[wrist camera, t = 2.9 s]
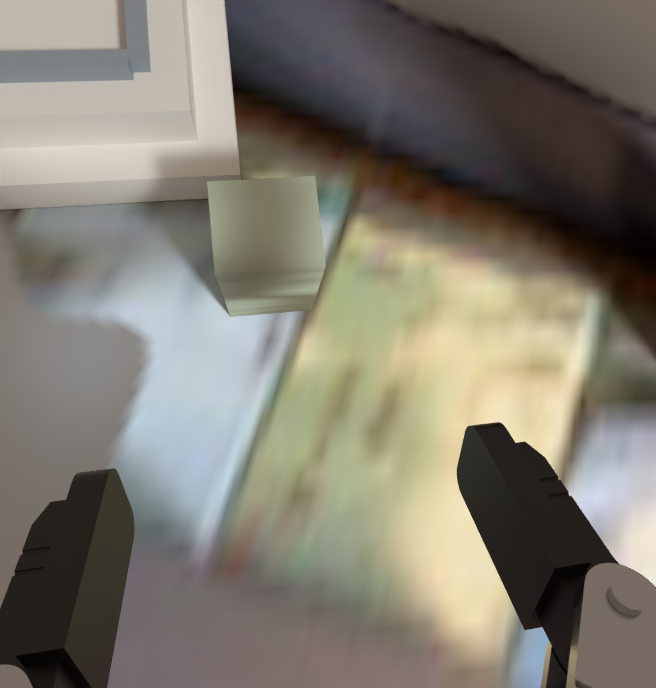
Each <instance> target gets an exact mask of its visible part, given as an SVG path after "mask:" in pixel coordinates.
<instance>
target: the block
mask: <svg viewBox="0 0 656 688" xmlns="http://www.w3.org/2000/svg"><path fill="white" fill-rule="evenodd" d="M207 187H208V200H209V212H210V225H211V237H212V250H213V262H214V274H215V277H216V280H217V282H218V285H219V287H220V290H221V293H222V295H223V298H224V301H225V303H226V306H227V309H228V311H229V314H230V317H235V316H246V315H258V314H270V313H281V312H293V311H305V310H312V307H313V304H314V301H315V298H316V295H317V291H318V288H319V285H320V282H321V279H322V276H323V273H324V270H325V266H326V265H325V256H324V248H323V239H322V231H321V223H320V214H319V206H318V197H317V189H316V180H315V176H305V177H286V178H266V179H246V180H227V181H207Z"/></svg>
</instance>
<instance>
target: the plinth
mask: <svg viewBox="0 0 656 688" xmlns="http://www.w3.org/2000/svg"><path fill="white" fill-rule="evenodd" d="M227 180H241V174H240V163H239V152H238V142H237V131H236V120H235V109H234V98H233V87H232V76H231V65H230V54H229V44H228V33H227V22H226V11H225V0H0V210H6V209H24V208H43V207H61V206H79V205H98V204H116V203H135V202H153V201H171V200H190V199H208V187H207V181H227Z"/></svg>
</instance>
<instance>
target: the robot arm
mask: <svg viewBox="0 0 656 688" xmlns="http://www.w3.org/2000/svg"><path fill="white" fill-rule="evenodd" d="M457 480H458V485H459V489H460V492H461V494H462V497H463V499H464V501H465V503H466V505H467V507H468V509H469V512H470V514H471V516H472V518H473V520H474V522H475V524H476V527H477V529H478V531H479V533H480V535H481V537H482V540H483V542H484V544H485V546H486V548H487V550H488V552H489V555H490V557H491V559H492V561H493V563H494V565H495V567H496V570H497V572H498V574H499V576H500V578H501V580H502V582H503V585H504V587H505V589H506V591H507V593H508V595H509V598H510V600H511V602H512V604H513V606H514V608H515V610H516V613H517V615H518V617H519V619H520V621H521V623H522V625H523V628H524V630H528V629H533V628H539V627H543V629H544V631H545V633H546V635H547V637H548V639H549V642H548V645H547V650H546V656H545V663H544V670H543V676H542V683H541V688H656V587H655V586H654V585H653V584H652V583H651V582H650V581H649V580H648V579H646V578H645V577H644V576H643V575H641V574H640V573H638V572H636V571H635V570H633V569H631V568H628V567H626V566H623V565H620V564H619V563H618V562H617V561H616V560H615V559H614V557H613V556H612V555H611V553H610V552H609V550H608V549H607V547H606V546H605V545H604V543H603V542H602V540H601V539H600V537H599V536H598V534H597V533H596V531H595V530H594V528H593V527H592V526H591V524H590V523H589V521H588V520H587V518H586V517H585V515H584V514H583V512H582V511H581V510H580V508H579V507H578V505H577V504H576V502H575V501H574V499H573V498H572V496H569V494H568V491H567V489H566V488H565V486H564V485H563V483H562V482H561V480H558V476H557V474H556V473H555V472H554V470H553V469H552V467H551V466H550V464H549V463H548V461H547V460H546V458H545V457H544V456H543V455H541V454H540V453H539V452H537V451H536V450H535V449H534V448H532V447H531V446H530V445H529V444H527V443H526V442H519V443H515V441H514V440H513V438H512V437H511V435H510V434H509V432H508V431H507V429H506V428H505V426H504V425H503V424H501V423H499V422H497V423H489V424H480V425H472V426H468V427H467V428H466V431H465V435H464V439H463V444H462V448H461V453H460V457H459V461H458V466H457ZM133 539H134V516H133V511H132V508H131V506H130V503H129V500H128V498H127V495H126V492H125V490H124V487H123V485H122V482H121V479H120V477H119V474H118V472H117V470H116V469H114V468H113V469H105V470H97V471H89V472H81V473H77V474H76V475H75V476H74V478H73V481H72V484H71V486H70V490H69V493H68V496H67V499H66V500H62V501H54V502H50V503H49V505H48V506H47V507H46V508H45V510H44V511H43V512H42V513H41V514H40V516H39V517H38V518H37V519H36V521H35V522H34V523H33V524H32V526H31V529H30V532H29V534H28V537H27V539H26V542H25V545H24V548H23V554H22V555H21V556H20V558H19V561H18V563H17V566H16V568H15V576H13V577H12V579H11V582H10V584H9V587H8V590H7V592H6V595H5V598H4V600H3V603H2V606H1V608H0V688H107V684H108V679H109V673H110V668H111V662H112V656H113V651H114V645H115V640H116V634H117V629H118V623H119V617H120V612H121V606H122V601H123V595H124V590H125V584H126V578H127V573H128V567H129V562H130V556H131V550H132V545H133Z"/></svg>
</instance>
